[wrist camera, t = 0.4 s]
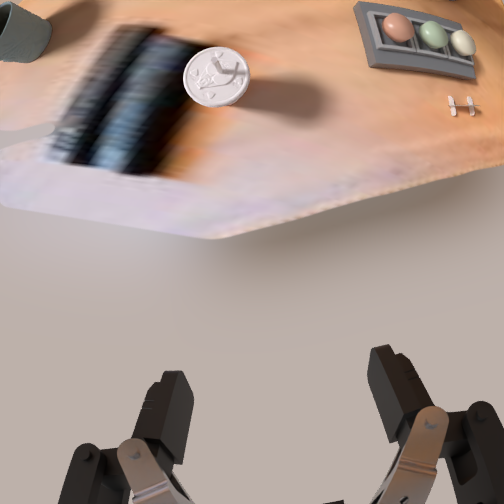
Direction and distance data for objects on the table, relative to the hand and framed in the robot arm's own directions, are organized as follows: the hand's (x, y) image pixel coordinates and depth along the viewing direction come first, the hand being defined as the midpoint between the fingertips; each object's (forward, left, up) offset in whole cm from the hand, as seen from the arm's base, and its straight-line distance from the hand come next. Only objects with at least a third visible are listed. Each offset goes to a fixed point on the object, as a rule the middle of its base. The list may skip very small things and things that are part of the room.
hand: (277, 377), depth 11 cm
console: (-23, +27, -28) cm, 45 cm away
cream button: (-23, +33, -24) cm, 47 cm away
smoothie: (-16, -2, -28) cm, 33 cm away
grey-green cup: (-39, -33, -28) cm, 59 cm away
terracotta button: (-23, +21, -24) cm, 40 cm away
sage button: (-23, +27, -24) cm, 43 cm away
